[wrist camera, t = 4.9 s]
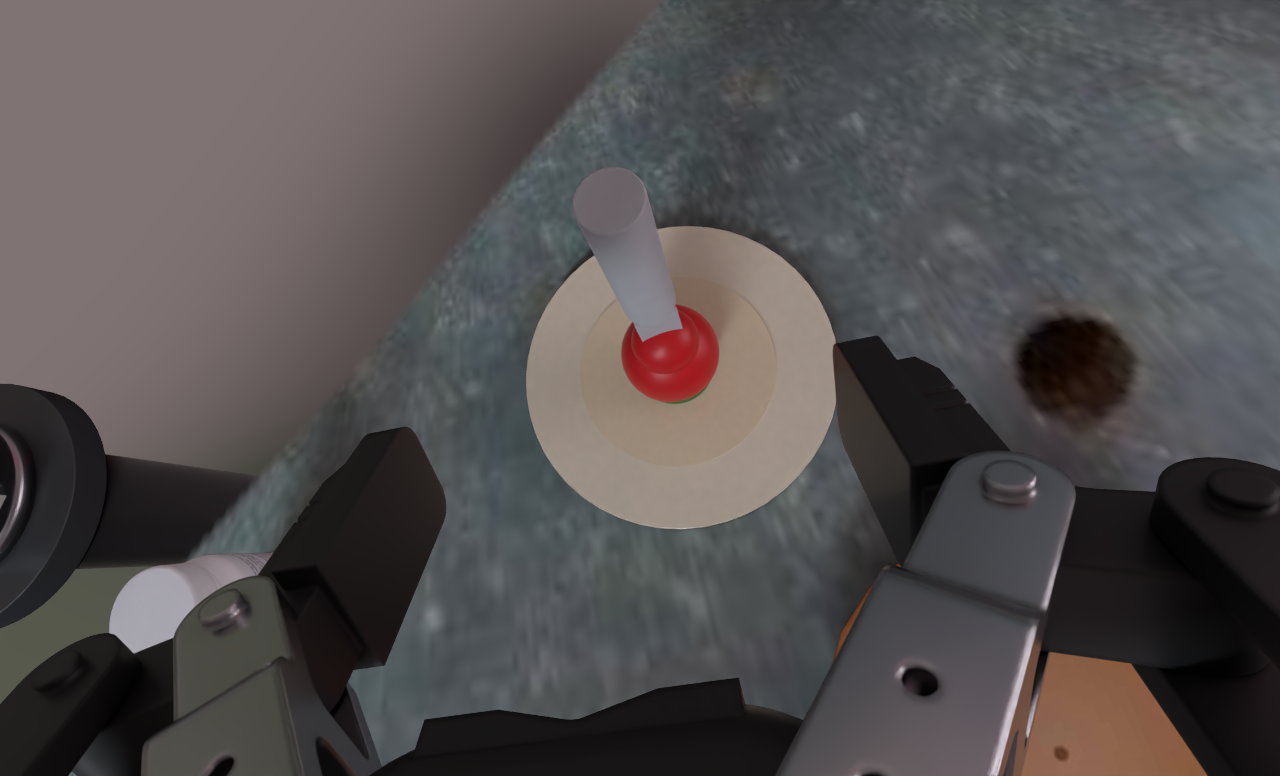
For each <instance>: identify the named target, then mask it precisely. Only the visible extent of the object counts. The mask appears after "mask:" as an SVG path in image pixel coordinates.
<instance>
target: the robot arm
mask: <svg viewBox="0 0 1280 776" xmlns="http://www.w3.org/2000/svg"><path fill="white" fill-rule="evenodd" d="M833 367H834V379H835V391H836V404H837V416H838V424H839V429H840V434H841V438H842V441H843V444H844V447H845V450H846V452H847V454H848V456H849V459H850V461H851V463H852V465H853V467H854V469H855V471H856V473H857V476H858V478H859V480H860V482H861V484H862V486H863V488H864V490H865V492H866V495H867V497H868V499H869V501H870V503H871V505H872V507H873V509H874V511H875V514H876V516H877V518H878V520H879V522H880V524H881V526H882V528H883V531H884V533H885V535H886V537H887V539H888V541H889V543H890V545H891V547H892V550H893V552H894V554H895V556H896V558H897V560H898V562H899V564H900V566H901V567H899V566H896V565H893V564H888V565H886V566H885V567H884V568H883V569H882V570H881V572H880V573H879V575H878V576H877V578H876V580H875V582H874V584H873V586H872V588H871V590H870V592H869V594H868V596H867V598H866V600H865V601H864V603H863V605H862V607H861V609H860V611H859V613H858V615H857V617H856V619H855V621H854V623H853V625H852V627H851V629H850V631H849V633H848V635H847V637H846V638H845V640H844V642H843V644H842V646H841V648H840V650H839V652H838V654H837V656H836V658H835V660H834V662H833V664H832V666H831V668H830V670H829V672H828V674H827V675H826V677H825V679H824V681H823V683H822V685H821V687H820V689H819V691H818V693H817V695H816V697H815V699H814V701H813V703H812V705H811V707H810V709H809V711H808V712H807V714H806V716H805V718H804V720H801V719H798V718H796V717H793V716H791V715H788V714H786V713H783V712H779V711H776V710H772V709H768V708H764V707H760V706H753V705H746V704H745V702H744V698H743V694H742V689H741V685H740V681H739V678H732V679H725V680H717V681H710V682H702V683H695V684H687V685H680V686H672V687H665V688H658V689H655V690H653V691H650V692H647V693H645V694H642V695H640V696H637V697H634V698H632V699H629V700H627V701H624V702H622V703H619V704H616V705H614V706H611V707H609V708H606V709H604V710H601V711H598V712H596V713H593V714H591V715H588V716H586V717H583V718H580V719H574V720H565V719H559V718H552V717H545V716H538V715H531V714H524V713H517V712H510V711H503V710H493V711H485V712H478V713H470V714H463V715H455V716H448V717H440V718H433V719H425V720H424V723H423V726H422V729H421V732H420V736H419V739H418V742H417V745H416V748H415V750H413V751H410V752H408V753H407V754H405V755H403V756H401V757H399V758H397V759H395V760H393V761H391V762H389V763H388V764H386V765H385V766H383V767H382V766H381V763H380V760H379V757H378V754H377V751H376V749H375V746H374V743H373V740H372V737H371V734H370V732H369V729H368V726H367V723H366V720H365V717H364V714H363V712H362V709H361V706H360V703H359V700H358V697H357V695H356V693H355V691H354V690H353V688H352V687H351V686H350V684H349V683H348V680H349V678H350V676H351V674H352V672H353V670H356V669H363V668H370V667H377V666H384V665H385V663H386V661H387V658H388V656H389V653H390V651H391V649H392V646H393V644H394V641H395V639H396V636H397V634H398V632H399V629H400V627H401V624H402V622H403V619H404V617H405V615H406V612H407V610H408V607H409V605H410V602H411V600H412V598H413V595H414V593H415V590H416V588H417V585H418V583H419V581H420V578H421V576H422V573H423V571H424V568H425V566H426V564H427V561H428V559H429V556H430V554H431V551H432V549H433V546H434V544H435V542H436V539H437V537H438V534H439V532H440V529H441V527H442V525H443V522H444V519H445V515H446V500H445V495H444V491H443V488H442V486H441V484H440V482H439V480H438V478H437V476H436V474H435V472H434V470H433V468H432V466H431V464H430V462H429V460H428V458H427V456H426V454H425V452H424V450H423V448H422V446H421V444H420V442H419V440H418V438H417V436H416V434H415V433H414V432H413V431H412V430H411V429H410V428H408V427H400V428H395V429H390V430H385V431H380V432H375V433H370V434H367V435H366V436H365V437H364V438H363V439H362V440H361V442H360V443H359V445H358V446H357V448H356V449H355V451H354V452H353V453H352V455H351V456H350V458H349V459H348V461H347V462H346V464H344V465H343V466H342V467H341V468H340V469H339V470H338V471H336V472H335V473H334V474H333V475H332V476H331V477H329V478H328V479H327V480H326V481H325V482H324V483H323V484H322V485H321V487H320V488H319V490H318V491H317V492H316V494H315V495H314V497H313V498H312V499H311V501H310V502H309V503H310V506H306V508H305V509H304V511H303V512H302V513H301V515H300V516H299V518H298V522H297V523H294V525H293V526H292V527H291V529H290V530H289V532H288V533H287V534H286V536H285V537H284V539H283V540H282V541H281V543H280V544H279V546H278V547H277V549H276V550H275V551H274V553H273V554H272V556H271V557H270V558H269V560H268V561H267V563H266V564H265V565H264V567H263V568H262V570H261V571H260V572H259V574H258V575H257V576H250V577H245V578H242V579H239V580H236V581H234V582H231V583H229V584H227V585H225V586H223V587H221V588H220V589H218V590H216V591H215V592H213V593H212V594H210V595H209V596H207V597H206V598H205V599H203V600H202V601H201V602H200V603H198V604H197V605H196V606H195V607H194V608H193V609H192V610H191V611H190V612H189V613H188V614H187V615H186V616H185V618H184V619H183V620H182V622H181V623H180V624H179V626H178V628H177V629H176V632H175V634H174V637H173V638H171V639H169V640H166V641H164V642H161V643H159V644H156V645H154V646H151V647H149V648H146V649H144V650H141V651H139V652H136V653H133V652H132V651H131V650H130V649H129V648H128V647H127V646H126V645H125V644H124V643H123V642H122V641H121V640H120V639H119V638H118V637H117V636H116V635H114V634H111V633H103V634H97V635H93V636H90V637H87V638H85V639H82V640H80V641H77V642H75V643H73V644H71V645H69V646H68V647H66V648H64V649H62V650H61V651H59V652H57V653H56V654H54V655H53V656H51V657H50V658H49V659H47V660H46V661H44V662H43V663H42V664H40V665H39V666H38V667H37V668H35V669H34V670H33V671H32V672H31V673H30V674H29V675H27V676H26V677H25V678H24V679H23V680H22V681H21V682H20V683H19V684H18V685H17V686H16V688H15V689H14V690H13V691H12V692H11V693H10V694H9V695H8V696H7V698H6V699H5V700H4V701H3V702H2V703H1V704H0V776H68V775H69V774H70V773H71V771H72V772H73V773H74V774H76V775H77V776H1021V775H1022V770H1023V766H1024V761H1025V757H1026V753H1027V749H1028V745H1029V741H1030V736H1031V732H1032V728H1033V724H1034V720H1035V716H1036V712H1037V707H1038V703H1039V699H1040V695H1041V691H1042V687H1043V683H1044V678H1045V674H1046V670H1047V666H1048V662H1049V658H1050V654H1051V652H1053V653H1060V654H1067V655H1074V656H1081V657H1088V658H1096V659H1103V660H1110V661H1117V662H1124V663H1131V664H1132V666H1133V667H1134V669H1135V670H1136V672H1137V673H1138V675H1139V676H1140V677H1141V679H1142V680H1143V682H1144V683H1145V685H1146V686H1147V688H1148V689H1149V691H1150V692H1151V694H1152V695H1153V696H1154V698H1155V699H1156V701H1157V702H1158V704H1159V705H1160V707H1161V708H1162V710H1163V711H1164V713H1165V714H1166V715H1167V717H1168V718H1169V720H1170V721H1171V723H1172V724H1173V726H1174V727H1175V729H1176V730H1177V732H1178V733H1179V735H1180V736H1181V737H1182V739H1183V740H1184V742H1185V743H1186V745H1187V746H1188V748H1189V749H1190V751H1191V752H1192V754H1193V755H1194V756H1195V758H1196V759H1197V761H1198V762H1199V764H1200V765H1201V767H1202V768H1203V770H1204V771H1205V773H1206V774H1207V775H1208V776H1280V471H1278V470H1276V469H1273V468H1270V467H1267V466H1264V465H1260V464H1256V463H1252V462H1248V461H1242V460H1237V459H1229V458H1211V457H1206V458H1194V459H1188V460H1183V461H1180V462H1177V463H1175V464H1173V465H1171V466H1169V467H1167V468H1166V469H1165V470H1164V471H1163V472H1162V473H1161V475H1160V476H1159V479H1158V483H1157V488H1156V492H1147V491H1127V490H1107V489H1093V488H1084V487H1078V486H1074V485H1073V483H1072V481H1071V480H1070V479H1069V477H1068V476H1067V475H1066V474H1065V473H1064V472H1063V471H1061V470H1060V469H1059V468H1057V467H1056V466H1054V465H1053V464H1051V463H1049V462H1047V461H1045V460H1042V459H1040V458H1037V457H1034V456H1031V455H1027V454H1023V453H1018V452H1011V451H1010V450H1009V449H1008V447H1007V446H1006V445H1005V444H1004V443H1003V442H1002V440H1001V439H1000V438H999V437H998V436H997V435H996V434H995V432H994V431H993V430H992V429H991V428H990V427H989V425H988V424H987V423H986V422H985V421H984V420H983V418H982V417H981V416H980V415H979V414H978V413H977V411H976V410H975V409H974V408H973V407H972V406H971V405H970V403H969V404H967V401H966V399H965V398H964V396H963V395H962V394H961V393H960V392H959V391H958V389H955V388H954V385H953V384H952V383H951V381H950V380H949V379H948V378H947V377H946V376H945V374H944V373H943V372H942V371H941V370H940V369H939V368H937V367H935V366H933V365H931V364H929V363H927V362H925V361H923V360H920V359H918V358H916V357H910V358H905V359H900V360H897V359H896V358H895V357H894V355H893V354H892V353H891V352H890V350H889V349H888V348H887V346H886V345H885V344H884V342H883V341H882V340H881V338H880V337H879V336H872V337H866V338H861V339H856V340H851V341H846V342H841V343H836V344H834V345H833ZM35 493H36V467H35V462H34V458H33V455H32V452H31V450H30V448H29V446H28V445H27V443H26V441H25V440H24V439H23V438H22V437H21V436H20V435H19V434H18V433H17V432H16V431H14V430H13V429H11V428H9V427H7V426H4V425H1V424H0V563H1V562H2V561H3V559H4V558H5V557H6V556H7V555H8V554H9V552H10V551H11V550H12V548H13V547H14V546H15V544H16V543H17V541H18V540H19V538H20V536H21V534H22V532H23V531H24V528H25V526H26V524H27V522H28V519H29V517H30V514H31V511H32V508H33V504H34V499H35Z"/></svg>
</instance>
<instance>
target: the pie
mask: <svg viewBox="0 0 1280 776" xmlns="http://www.w3.org/2000/svg"><path fill="white" fill-rule="evenodd" d="M896 566H899V567H901V566H900V564H899V563H898V564H896ZM873 584H874V583H873ZM873 584H872V585H871V586H870V588H869V589H868V591H867V592H866V594H865V595H864V597H863V598H862V600H861V602H860V603H859V605H858V606H857V608H856V609H855V611H854V612H853V614H852V615H851V617H850V618H849V620H848V621H847V623H846V625H845V626H844V628H843V629H842V631H841V634H840V638H839V641H838V645H837V649H836V652H835V656H834V660H835V658H836V656H837V654H838V652H839V650H840V648H841V646H842V644H843V642H844V640H845V638H846V637H847V635H848V633H849V631H850V629H851V627H852V625H853V623H854V621H855V619H856V617H857V615H858V613H859V611H860V609H861V607H862V605H863V603H864V601H865V600H866V598H867V596H868V594H869V592H870V590H871V588H872V586H873ZM834 660H833V662H834ZM1021 776H1208V775H1207V774H1206V773H1205V771H1204V770H1203V768H1202V767H1201V765H1200V764H1199V762H1198V761H1197V759H1196V758H1195V756H1194V755H1193V754H1192V752H1191V751H1190V749H1189V748H1188V746H1187V745H1186V743H1185V742H1184V740H1183V739H1182V737H1181V736H1180V735H1179V733H1178V732H1177V730H1176V729H1175V727H1174V726H1173V724H1172V723H1171V721H1170V720H1169V718H1168V717H1167V715H1166V714H1165V713H1164V711H1163V710H1162V708H1161V707H1160V705H1159V704H1158V702H1157V701H1156V699H1155V698H1154V696H1153V695H1152V694H1151V692H1150V691H1149V689H1148V688H1147V686H1146V685H1145V683H1144V682H1143V680H1142V679H1141V677H1140V676H1139V675H1138V673H1137V672H1136V670H1135V669H1134V667H1133V666H1132V664H1131V663H1124V662H1117V661H1110V660H1103V659H1096V658H1088V657H1081V656H1074V655H1067V654H1060V653H1053V652H1051V654H1050V658H1049V662H1048V666H1047V670H1046V674H1045V678H1044V683H1043V687H1042V691H1041V695H1040V699H1039V703H1038V707H1037V712H1036V716H1035V720H1034V724H1033V728H1032V732H1031V736H1030V741H1029V745H1028V749H1027V753H1026V757H1025V761H1024V766H1023V770H1022V775H1021Z"/></svg>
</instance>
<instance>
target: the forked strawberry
mask: <svg viewBox="0 0 1280 776" xmlns="http://www.w3.org/2000/svg"><path fill="white" fill-rule="evenodd" d="M572 209H573V214H574V217H575V219H576V221H577V223H578V225H579V227H580V229H581V231H582V233H583V235H584V236H585V238H586V240H587V242H588V244H589V246H590V248H591V250H592V252H593V254H594V255H595V257H596V259H597V261H598V263H599V265H600V267H601V269H602V271H603V273H604V274H605V276H606V278H607V280H608V282H609V284H610V286H611V288H612V290H613V292H614V293H615V295H616V297H617V299H618V301H619V303H620V305H621V307H622V309H623V311H624V312H625V314H626V316H627V317H628V318H629V319H630V320H631V321H632V323H631V324H630V326H629V327H628V329H627V331H626V333H625V335H624V338H623V341H622V346H621V359H622V365H623V368H624V371H625V373H626V375H627V377H628V379H629V381H630V382H631V383H632V385H633V386H634V387H635V388H636V389H637V390H638V391H640V392H641V393H642V394H644V395H645V396H647V397H649V398H652V399H654V400H658V401H661V402H665V403H669V404H681V403H685V402H688V401H691V400H693V399H695V398H696V397H698V396H699V395H700V394H701V393H702V392H703V391H704V390H705V389H706V388H707V386H708V385H709V383H710V381H711V379H712V378H713V376H714V374H715V372H716V369H717V366H718V362H719V344H718V340H717V337H716V334H715V332H714V330H713V328H712V326H711V325H710V323H709V322H708V321H707V320H706V319H705V318H704V317H703V316H702V315H701V314H700V313H698V312H697V311H695V310H693V309H691V308H689V307H686V306H683V305H678V304H675V303H676V295H675V291H674V287H673V284H672V280H671V277H670V273H669V270H668V266H667V263H666V259H665V256H664V252H663V248H662V245H661V241H660V238H659V234H658V231H657V227H656V224H655V220H654V217H653V213H652V210H651V206H650V203H649V199H648V196H647V192H646V189H645V186H644V184H643V183H642V181H641V180H640V179H639V177H638V176H636V175H635V174H634V173H632V172H630V171H628V170H626V169H623V168H618V167H609V168H603V169H600V170H597V171H595V172H593V173H591V174H590V175H589V176H587V177H586V178H585V179H584V180H583V181H582V182H581V183H580V184H579V186H578V187H577V189H576V191H575V194H574V197H573V203H572Z"/></svg>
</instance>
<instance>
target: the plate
mask: <svg viewBox="0 0 1280 776" xmlns="http://www.w3.org/2000/svg"><path fill="white" fill-rule="evenodd" d="M657 231H658V234H659V238H660V241H661V245H662V248H663V252H664V256H665V259H666V263H667V266H668V270H669V273H670V277H671V280H672V284H673V287H674V291H675V295H676V303H675V304H678V305H683V306H686V307H689V308H691V309H693V310H695V311H697V312H698V313H700V314H701V315H702V316H703V317H704V318H705V319H706V320H707V321H708V322H709V323H710V325H711V326H712V328H713V330H714V332H715V334H716V337H717V340H718V344H719V362H718V366H717V369H716V372H715V374H714V376H713V378H712V379H711V381H710V383H709V385H708V386H707V388H706V389H705V390H704V391H703V392H702V393H701V394H700V395H699V396H698V397H696V398H695V399H693V400H691V401H688V402H685V403H681V404H669V403H665V402H661V401H658V400H654V399H652V398H649V397H647V396H645V395H644V394H642V393H641V392H640V391H638V390H637V389H636V388H635V387H634V386H633V385H632V383H631V382H630V381H629V379H628V377H627V375H626V373H625V371H624V368H623V365H622V359H621V346H622V341H623V338H624V335H625V333H626V331H627V329H628V327H629V326H630V324H631V323H632V321H631V320H630V319H629V318H628V317H627V316H626V314H625V312H624V311H623V309H622V307H621V305H620V303H619V301H618V299H617V297H616V295H615V293H614V292H613V290H612V288H611V286H610V284H609V282H608V280H607V278H606V276H605V274H604V273H603V271H602V269H601V267H600V265H599V263H598V261H597V259H596V257H595V255H594V256H593V257H591V258H590V259H589V260H587V261H586V262H584V263H583V264H582V265H581V266H580V267H579V268H578V269H577V270H576V271H575V272H573V273H572V274H571V275H570V276H569V277H568V279H567V280H566V281H565V282H564V283H563V284H562V286H561V287H560V288H559V289H558V290H557V292H556V293H555V295H554V296H553V298H552V299H551V301H550V302H549V304H548V305H547V307H546V309H545V311H544V313H543V315H542V317H541V319H540V321H539V323H538V325H537V328H536V331H535V334H534V336H533V339H532V343H531V347H530V352H529V356H528V363H527V374H526V389H527V401H528V407H529V413H530V418H531V421H532V424H533V427H534V430H535V434H536V436H537V438H538V440H539V443H540V445H541V447H542V449H543V451H544V453H545V455H546V456H547V458H548V459H549V461H550V462H551V464H552V465H553V467H554V468H555V470H556V471H557V472H558V473H559V474H560V476H561V477H562V478H563V479H564V480H565V481H566V483H567V484H568V485H569V486H571V487H572V488H573V489H574V490H575V491H576V492H577V493H578V494H580V495H581V496H582V497H583V498H585V499H586V500H588V501H589V502H591V503H592V504H594V505H595V506H597V507H598V508H600V509H601V510H603V511H606V512H608V513H610V514H612V515H614V516H616V517H618V518H621V519H624V520H627V521H630V522H633V523H636V524H639V525H645V526H650V527H656V528H661V529H682V530H684V529H695V528H705V527H709V526H714V525H718V524H722V523H726V522H729V521H732V520H734V519H737V518H740V517H742V516H745V515H747V514H749V513H751V512H753V511H754V510H756V509H758V508H760V507H762V506H764V505H765V504H767V503H768V502H770V501H771V500H772V499H774V498H775V497H776V496H778V495H779V494H780V493H782V492H783V491H784V490H785V489H786V488H787V487H788V486H789V485H790V484H791V483H792V482H793V481H794V480H795V479H797V478H798V476H799V475H800V474H801V473H802V471H803V470H804V469H805V468H806V466H807V465H808V464H809V462H810V461H811V460H812V459H813V457H814V455H815V454H816V452H817V450H818V448H819V447H820V445H821V443H822V442H823V440H824V437H825V435H826V433H827V430H828V428H829V425H830V423H831V420H832V417H833V413H834V409H835V405H836V391H835V379H834V367H833V345H834V344H836V341H835V336H834V333H833V330H832V327H831V324H830V321H829V318H828V316H827V314H826V312H825V310H824V308H823V306H822V304H821V302H820V300H819V299H818V297H817V296H816V294H815V293H814V291H813V290H812V288H811V287H810V285H809V284H808V283H807V282H806V280H805V279H804V278H803V277H802V276H801V275H800V274H799V273H798V272H797V270H796V269H795V268H793V267H792V266H791V265H790V264H789V263H788V262H786V261H785V260H784V259H783V258H782V257H780V256H779V255H777V254H776V253H774V252H773V251H771V250H770V249H768V248H767V247H765V246H763V245H761V244H759V243H757V242H755V241H753V240H751V239H749V238H747V237H744V236H741V235H738V234H735V233H732V232H729V231H724V230H719V229H714V228H709V227H696V226H679V227H667V228H661V229H657Z"/></svg>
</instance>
